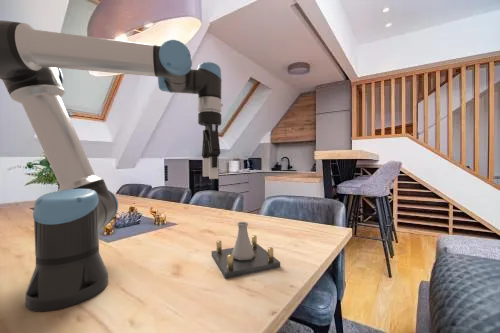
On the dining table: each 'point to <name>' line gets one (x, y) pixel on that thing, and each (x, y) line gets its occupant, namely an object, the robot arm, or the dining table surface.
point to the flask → (243, 244)
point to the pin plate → (243, 267)
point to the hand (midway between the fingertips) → (210, 177)
